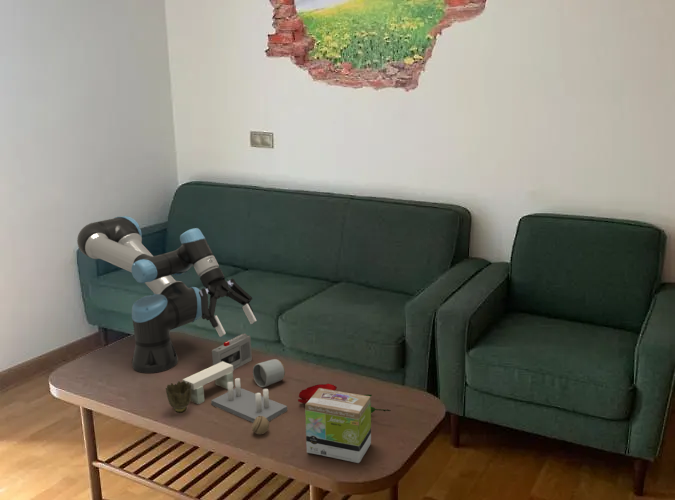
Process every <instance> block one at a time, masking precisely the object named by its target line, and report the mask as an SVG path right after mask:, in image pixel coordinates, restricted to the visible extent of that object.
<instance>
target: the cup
mask: <svg viewBox="0 0 675 500" xmlns="http://www.w3.org/2000/svg"><path fill="white" fill-rule="evenodd" d="M165 391H166V397H167V400H168V403H169V405H170V407H172V408H173V409H174V412H175V413H176V414H183V413H185V412H187V410H188V406H189V405H190V404H191V402H192V401H191V383H190V384H189V382H188V383H186V382H185V381H183V380H182V381H179V380H177V382H176V383H175V384H174V383H173V382H171V383H170V384H167V385H166V387H165Z"/></svg>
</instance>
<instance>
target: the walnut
mask: <svg viewBox="0 0 675 500" xmlns="http://www.w3.org/2000/svg"><path fill="white" fill-rule="evenodd" d="M269 422H270V421H269ZM269 422H268V420H267V418H265V417H264V416H258V417H256V419H255V420H254V422H253V423H252V425H251V430H252V432H253V433H254V434H257V435H264V434H265V433H266V432H267V431H268V430H269V427H270V423H269Z"/></svg>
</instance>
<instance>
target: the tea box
mask: <svg viewBox="0 0 675 500" xmlns="http://www.w3.org/2000/svg"><path fill="white" fill-rule="evenodd" d="M364 395H365V394H357V393H354V392H353V393H351V392H346V391H340V390H335V391H334V390H328V389H322V388H319V389H318V390H317V391H316V392H315V394H314V395H313V396H312V397H311V398H310V400H309V401H308V402H307V403H306V404H304V413H305V414H304V416H305V442H306V443H305V444H306V453H307V454H314V455H318V456H323V457H328V458H333V459H338V460H343V461H346V462H351V463H356V464H359V463H360V462H361V461H362V459H363V458H364V456H365V454H366V453H367V451H368V449H369V447H370V446H371V444H372V413H371V407H372V403H371V402H372V401H371V400H372V396H364Z"/></svg>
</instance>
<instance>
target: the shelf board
mask: <svg viewBox="0 0 675 500" xmlns="http://www.w3.org/2000/svg"><path fill="white" fill-rule="evenodd" d="M234 370H235V369H234ZM234 370H233V365H231V364H228V363H226V362H223V361H222V362H220V363H218V364H216V365H213V364H212V365H211V366H209V367H208V368H205V369H202V370H201V371H198V372H196V373H194V374H191V375H190V376H189V375H188V376H187V377H185V378H182V381H185V382H186V383H188V382H189V384H190V383H191V389H193V390H195V389H197V388H199V387H201V386H203V387H204V386H205V385H207V384H208V383H211V382H215V380H216V379H218V378H220V377H222V376H224V375H226V374H228V373H231V372H233V373H234Z"/></svg>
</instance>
